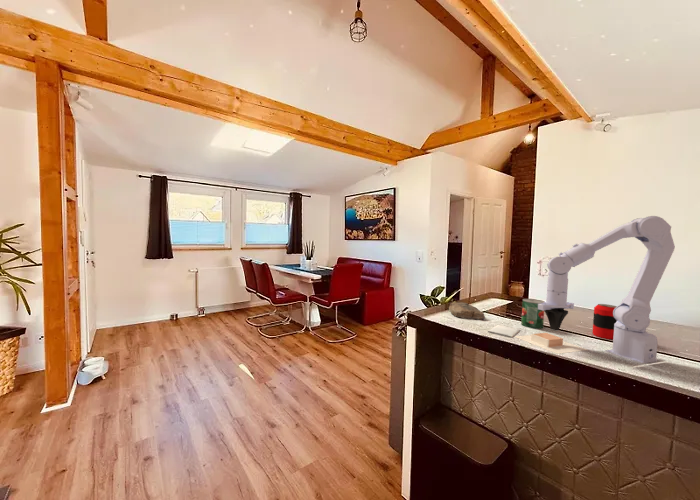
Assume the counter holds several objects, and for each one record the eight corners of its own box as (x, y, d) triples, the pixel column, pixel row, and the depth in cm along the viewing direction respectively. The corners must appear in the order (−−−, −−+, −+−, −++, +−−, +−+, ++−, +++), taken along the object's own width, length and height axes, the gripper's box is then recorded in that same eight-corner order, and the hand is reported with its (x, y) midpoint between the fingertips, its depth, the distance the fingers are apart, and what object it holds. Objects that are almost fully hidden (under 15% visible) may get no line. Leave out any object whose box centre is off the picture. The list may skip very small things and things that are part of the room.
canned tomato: (547, 330, 115) (548, 303, 115) (526, 328, 117) (527, 302, 116) (537, 324, 123) (539, 299, 123) (517, 323, 124) (519, 298, 124)
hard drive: (511, 336, 104) (520, 328, 113) (487, 330, 109) (497, 323, 118) (511, 340, 104) (519, 332, 113) (487, 334, 109) (497, 327, 119)
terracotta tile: (563, 338, 98) (547, 340, 95) (562, 345, 98) (547, 347, 96) (546, 332, 103) (531, 334, 101) (545, 339, 103) (531, 340, 101)
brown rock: (445, 308, 149) (452, 317, 130) (446, 298, 149) (453, 307, 130) (473, 310, 147) (485, 321, 127) (474, 301, 147) (486, 310, 127)
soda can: (588, 334, 112) (590, 304, 111) (597, 332, 115) (600, 302, 115) (613, 341, 105) (615, 308, 105) (622, 338, 109) (624, 307, 108)
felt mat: (588, 351, 94) (588, 349, 94) (557, 355, 90) (557, 353, 90) (542, 334, 110) (542, 333, 110) (514, 337, 105) (514, 336, 105)
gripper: (560, 288, 106) (558, 324, 106) (530, 289, 101) (528, 327, 102) (581, 292, 99) (578, 330, 100) (550, 293, 95) (547, 333, 95)
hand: (554, 329), depth 100 cm, fingers closed
